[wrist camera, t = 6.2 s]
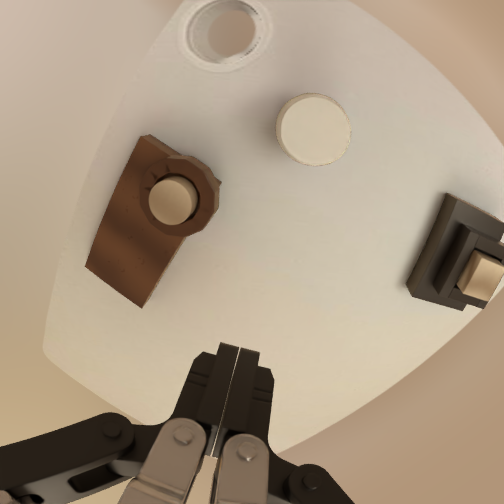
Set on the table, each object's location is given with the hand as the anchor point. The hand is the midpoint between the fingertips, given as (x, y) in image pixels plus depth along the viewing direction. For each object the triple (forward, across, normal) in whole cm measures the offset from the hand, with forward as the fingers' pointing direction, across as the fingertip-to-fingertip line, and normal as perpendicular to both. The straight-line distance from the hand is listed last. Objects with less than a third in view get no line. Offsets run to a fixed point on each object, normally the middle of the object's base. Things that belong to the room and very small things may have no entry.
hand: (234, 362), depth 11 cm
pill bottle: (+18, -1, -8) cm, 20 cm away
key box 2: (+17, -18, -2) cm, 25 cm away
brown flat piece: (+18, +12, +4) cm, 22 cm away
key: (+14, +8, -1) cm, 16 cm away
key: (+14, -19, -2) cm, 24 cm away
